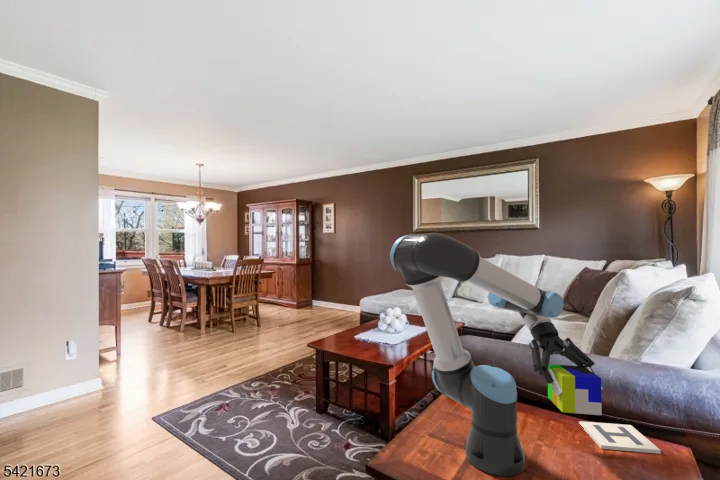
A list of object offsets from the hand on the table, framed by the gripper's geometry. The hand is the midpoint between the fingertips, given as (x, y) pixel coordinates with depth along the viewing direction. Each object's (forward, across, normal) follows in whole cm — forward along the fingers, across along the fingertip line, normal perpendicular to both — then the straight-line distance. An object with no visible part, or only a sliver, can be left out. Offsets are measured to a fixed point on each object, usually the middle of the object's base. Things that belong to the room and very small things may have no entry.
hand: (580, 392), depth 97 cm
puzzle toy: (+2, 0, -5) cm, 5 cm away
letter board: (+9, -16, -14) cm, 23 cm away
